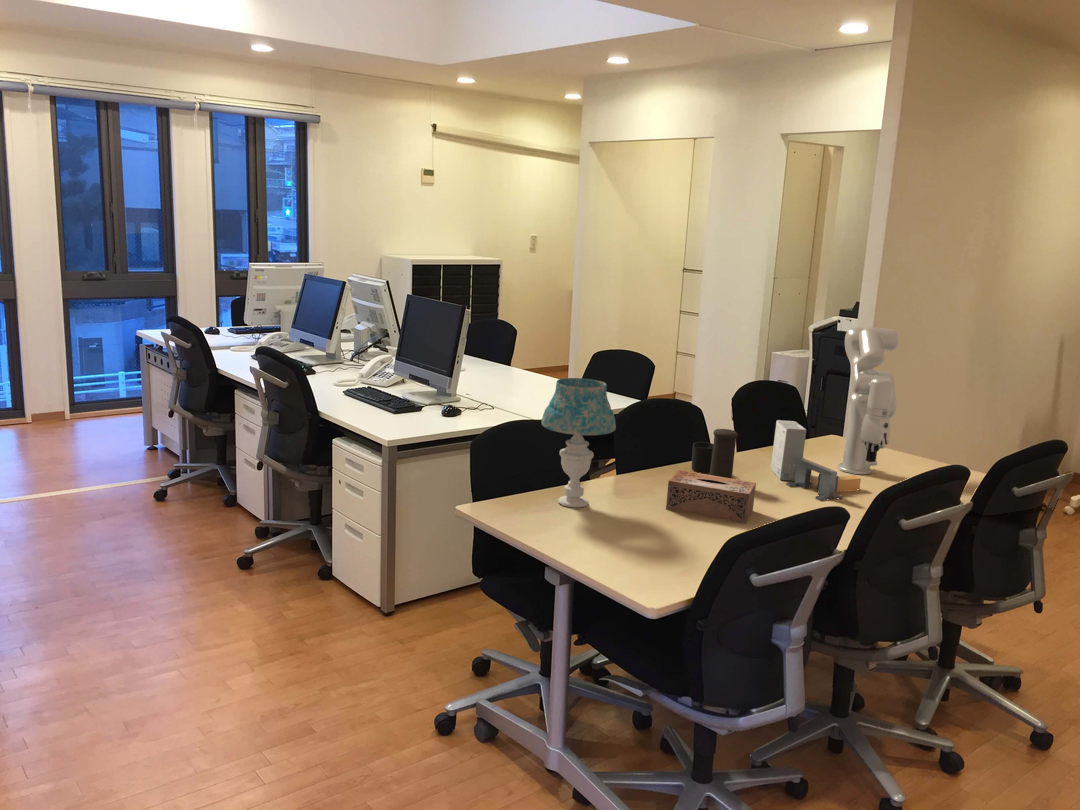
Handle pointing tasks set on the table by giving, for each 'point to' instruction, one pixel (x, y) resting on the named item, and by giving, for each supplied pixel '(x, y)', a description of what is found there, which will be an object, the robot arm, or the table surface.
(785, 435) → the hard drive box
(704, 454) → the pen holder
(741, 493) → the tissue box cover
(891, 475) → the table surface
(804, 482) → the bracket
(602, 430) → the table lamp
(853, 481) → the plug
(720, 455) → the container
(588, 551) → the table surface
